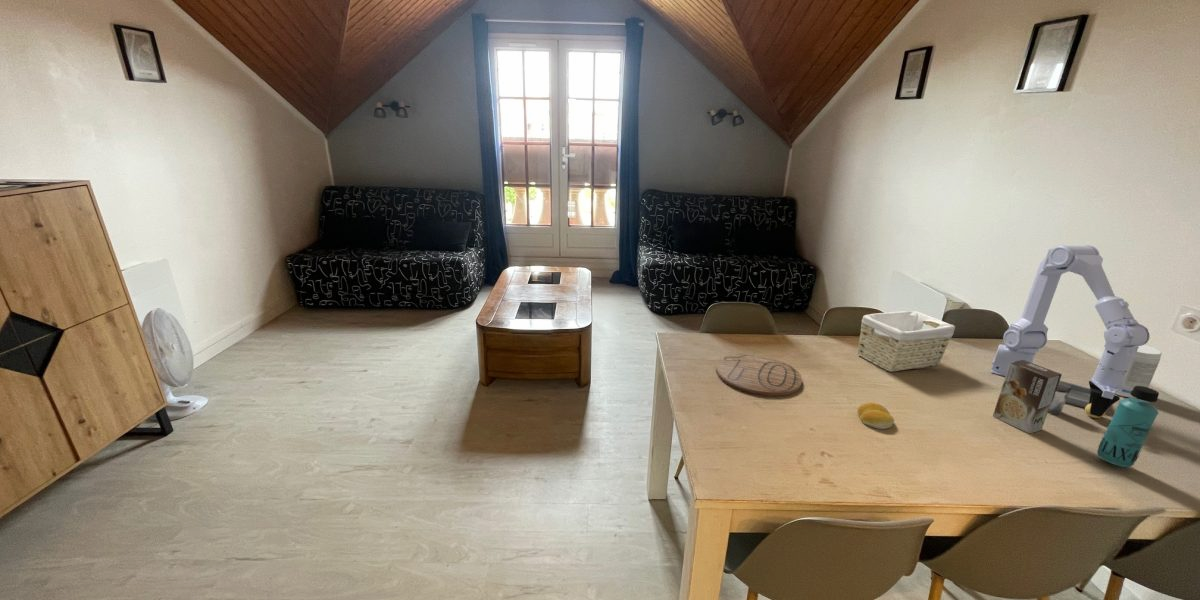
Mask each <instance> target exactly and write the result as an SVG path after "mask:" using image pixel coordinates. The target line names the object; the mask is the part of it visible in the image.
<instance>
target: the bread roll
mask: <svg viewBox="0 0 1200 600" xmlns="http://www.w3.org/2000/svg"><path fill="white" fill-rule="evenodd" d="M856 412H857V415H858V417H859V419H860V421H861V422H862V423H863V424H865V426H866V425H867V426H869V427H871V428H874V429H878V430H887V429H889V428H890V429H891V428H892V427H893V425H894V423H895V418H894V417H893V416H892V415H891V413H890V412H889V410H888V409H887V408H886V407H885V406H883V405H882V404H880V403H877V402H867V403H863V404H861V405H859V406H858V407H857V410H856Z"/></svg>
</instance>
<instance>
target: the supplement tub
mask: <svg viewBox="0 0 1200 600" xmlns="http://www.w3.org/2000/svg"><path fill="white" fill-rule="evenodd" d="M1134 347H1139V348H1138V350H1137V353H1136V355H1135V357H1134V359H1133V362H1132V364H1131V366H1130V369H1129V371H1128V373H1127V376H1126V378H1125V380H1124V382H1123V385H1126V386H1128V390H1123V389H1121V390H1119V391H1118V392H1116V393H1115V395H1116V396H1119V397H1125V398H1135V397H1133V396H1132V395H1131V394H1130V393H1131V391H1132V390H1133V388H1134V387H1135V386H1144V387H1148V388H1150V385H1151V383H1152V380H1153V378H1154V375H1155V372H1156V371H1157V369H1158V366H1159V363H1160V361H1161V357H1162V354H1163V353H1162V351H1160V350H1159V349H1157V348H1155V347H1152V346H1148V345H1147V344H1144V345H1142V346H1134ZM1135 399H1136V398H1135Z"/></svg>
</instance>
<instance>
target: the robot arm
mask: <svg viewBox="0 0 1200 600" xmlns="http://www.w3.org/2000/svg"><path fill="white" fill-rule="evenodd" d="M1103 260H1104V258H1103V257H1102V256H1101V255H1100V251H1099V250H1098V248H1096V246H1093V245H1089V244H1088V245H1086V244H1085V245H1066V244H1060V245H1056V246H1053V247H1051V248H1049V249H1048V250H1047V253H1046V256H1045V257H1044V258H1043V259H1042V260H1041V262H1040V263H1039V265H1038V269H1037V271H1036V274H1035V277H1034V280H1033V281H1032V285H1031V288H1030V290H1029V291H1030V292H1029V294H1028V296H1027V300H1026V302H1025V305H1024V308H1023V311H1022V313H1021V316H1020V318H1019V319H1017V320H1015V321H1013V322H1012V323H1010V325H1009V328H1008V329H1007V330H1005V332H1004V333H1003V336H1002V337H1003V343H1004V344H998V347H997V349H996V353H995V356H994V359H992V361H991V370H990V372H991V373H992V374H995V375H998V376H999V375H1000V376H1003V377H1006V374H1007V371H1008V368H1009V364H1010V363H1014V362H1015V361H1020V360H1025V361H1028V362H1030V363H1033V362H1034V360H1035V357H1036V354H1037V353H1038V352H1039V351H1040V349H1042V348H1044V347H1045V346H1046V345H1047V343H1048V331H1049V328H1048V327H1047V325H1046V324H1045V321H1046V317H1047V315H1048V312H1049V310H1050V307H1051V304H1052V301H1053V299H1054V295H1055V294H1056V293H1055V292H1056V290H1057V287H1058V284H1059V282H1060V279H1061V276H1062V275H1064V274H1065V273H1068V272H1071V273H1073V274H1076V275H1078V276H1081V277H1082V278H1083V280H1084V281H1085V283H1086V284H1087V286H1088V287H1089V289H1090V290H1091V292H1092V293H1093V295H1094V297H1095V298H1096V300H1097V302H1096V303H1095V306H1094V308H1095V310H1096V312H1097V313H1098V316H1099V317H1100V319H1101V321H1102V322H1103V325H1104V326H1105V329H1106V330H1105V331H1103V337H1104V341H1105V344H1104V350H1103V352H1102V354H1101V356H1100V357H1101V358H1100V360H1099V362H1098V364H1097V367H1096V368H1095V370H1094V374H1093V376H1092V377H1091V379H1090V380H1089V381H1088V384H1089V388H1090V399H1089V404H1090V403H1091V408H1090V414H1092V415H1095V416H1099V417H1101V416H1102V415H1103V414H1104V413H1105V411H1106V410H1107V409H1109V408H1110V407H1111V406H1112V405H1114V404H1116V403H1117V402H1119V401H1120V400H1121V399H1120V398H1121V396H1120V395H1116V394H1115V393H1116V392H1118V391H1119V390H1121V389H1123V390H1128V386H1126V385H1123V382H1124V380H1125V378H1126V376H1127V373H1128V371H1129V369H1130V366H1131V364H1132V362H1133V359H1134V357H1135V355H1136V353H1137V350H1138V348H1139V347H1134V346H1142V345H1147V343H1148V342H1149V340H1150V332H1149V328H1147V327H1146V326H1144V325H1143V324H1140V323H1139V322H1138V320H1137V319H1135V317H1134V315H1133V314H1132V312H1131V310H1130V309H1129V306H1130V304H1129V303H1128V301H1126V300H1125V299H1124V298H1121V297H1119V296H1116V295H1115V293H1114V291H1113V289H1112V285H1111V284H1110V282H1109V279H1108V277H1107V274H1106V272H1105V271H1104V268H1103V265H1102V264H1103ZM1107 411H1108V410H1107ZM1101 418H1102V417H1101Z"/></svg>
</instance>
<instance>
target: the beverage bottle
mask: <svg viewBox="0 0 1200 600" xmlns="http://www.w3.org/2000/svg"><path fill="white" fill-rule="evenodd" d="M1130 394H1131V395H1132V396H1133V397H1135V398H1128V397H1126V398H1123V399H1119V400H1118V406H1117V407H1116V409H1115V411H1114V414H1113V416H1112V418H1111V420H1110V422H1109V425H1107V426H1106V428H1107V429H1106V431H1105V432H1104V435H1103V436H1102V437H1101V440H1100V442H1099V444H1098V447H1097V450H1096V454H1097V456H1098V457H1099V458H1100V459H1101V460H1103V461H1106V462H1108V463H1110V464H1112V465H1116V466H1119V467H1122V468H1130V467H1133V466H1134V465H1135V463H1136V462H1137V460H1138V458H1139V457H1140V453H1141V451H1142V448H1143V446H1144V444H1145V442H1146V439H1147V438H1148V437H1149V434H1150V432H1151V430H1152V429H1153V428H1152V426H1153V424H1154V422H1155V421H1156V419H1157V416H1158V415H1159V411H1158V409H1157V408H1156V407H1155V405H1153V404H1152V403H1156V402H1157V401H1158V397H1159V395H1160V392H1159V391H1157V390H1156V389H1153V388H1150V387H1144V386H1135V387H1134V388H1133V390H1132V391H1131V393H1130Z"/></svg>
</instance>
